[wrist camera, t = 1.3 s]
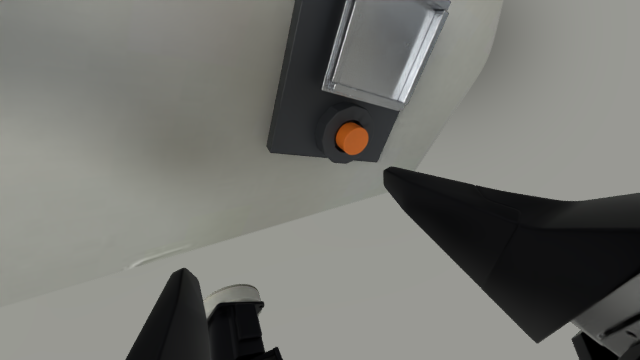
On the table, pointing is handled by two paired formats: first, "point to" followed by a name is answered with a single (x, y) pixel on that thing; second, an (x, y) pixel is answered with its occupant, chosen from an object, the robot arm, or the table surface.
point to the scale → (319, 94)
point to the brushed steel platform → (382, 49)
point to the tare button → (352, 138)
